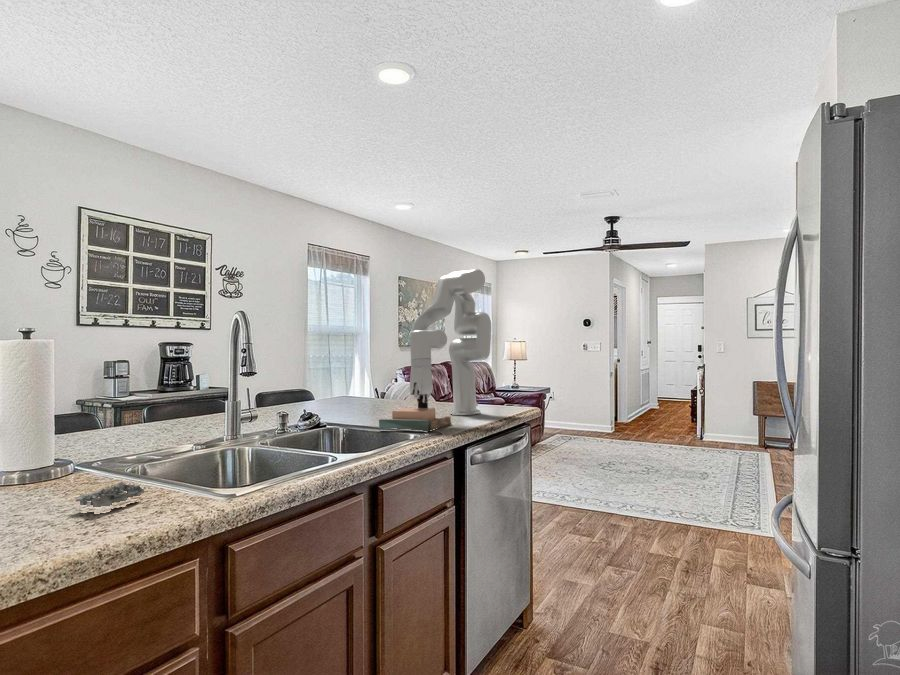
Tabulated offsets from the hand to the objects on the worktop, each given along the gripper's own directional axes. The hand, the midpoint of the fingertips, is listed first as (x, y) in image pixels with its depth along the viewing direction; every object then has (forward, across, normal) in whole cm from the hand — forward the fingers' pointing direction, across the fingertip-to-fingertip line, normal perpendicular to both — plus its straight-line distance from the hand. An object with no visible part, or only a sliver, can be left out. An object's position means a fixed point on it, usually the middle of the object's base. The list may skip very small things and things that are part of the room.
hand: (423, 413), depth 200 cm
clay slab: (+2, +7, 0) cm, 7 cm away
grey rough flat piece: (+5, +108, -13) cm, 109 cm away
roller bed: (+4, +6, 0) cm, 7 cm away
